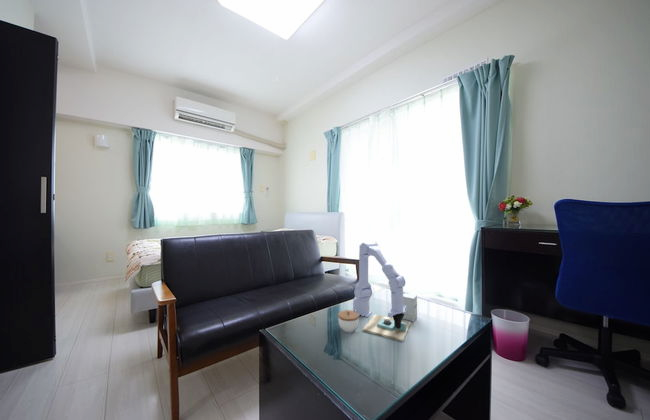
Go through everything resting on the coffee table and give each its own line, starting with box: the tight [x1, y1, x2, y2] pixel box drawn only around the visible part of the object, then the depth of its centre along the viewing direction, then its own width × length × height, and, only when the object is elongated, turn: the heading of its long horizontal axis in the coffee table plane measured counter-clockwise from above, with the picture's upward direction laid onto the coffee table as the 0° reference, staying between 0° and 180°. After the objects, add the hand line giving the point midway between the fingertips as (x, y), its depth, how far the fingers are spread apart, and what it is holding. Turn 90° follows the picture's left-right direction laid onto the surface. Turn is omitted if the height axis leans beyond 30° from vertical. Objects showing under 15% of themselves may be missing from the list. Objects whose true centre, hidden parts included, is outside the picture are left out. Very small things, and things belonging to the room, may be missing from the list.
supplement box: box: [402, 292, 418, 322], centre depth 129 cm, size 7×7×13 cm
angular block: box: [377, 318, 406, 331], centre depth 116 cm, size 14×8×3 cm, turn 54°
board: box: [362, 314, 412, 342], centre depth 118 cm, size 20×20×4 cm
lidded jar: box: [337, 309, 360, 333], centre depth 116 cm, size 11×11×9 cm
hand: (397, 327), depth 112 cm, fingers closed
